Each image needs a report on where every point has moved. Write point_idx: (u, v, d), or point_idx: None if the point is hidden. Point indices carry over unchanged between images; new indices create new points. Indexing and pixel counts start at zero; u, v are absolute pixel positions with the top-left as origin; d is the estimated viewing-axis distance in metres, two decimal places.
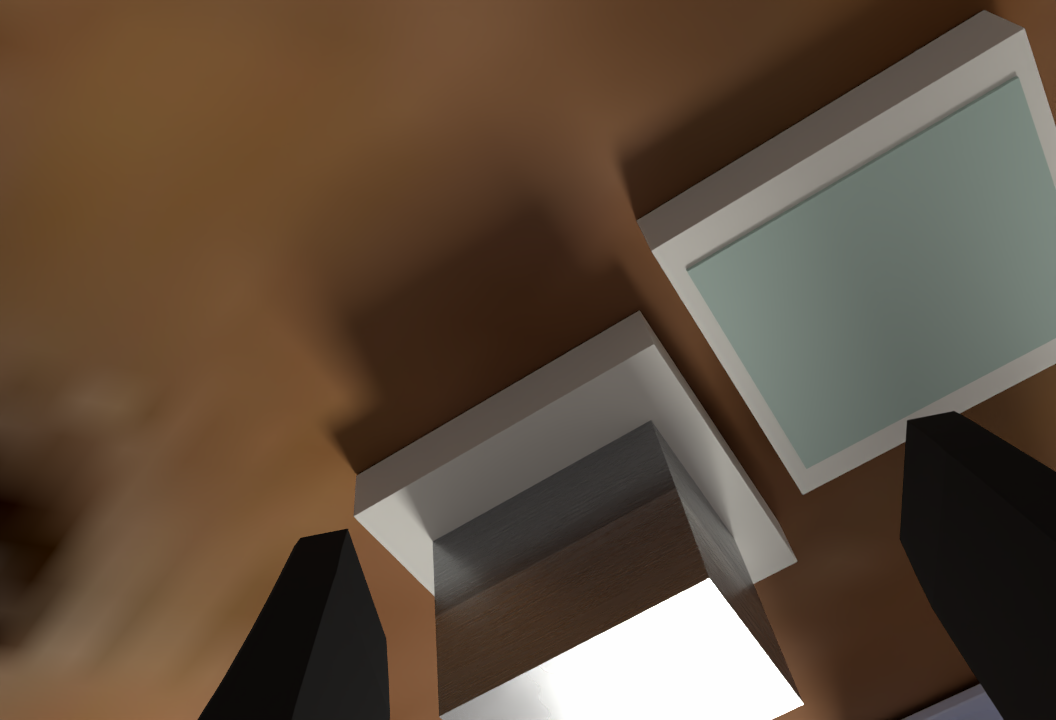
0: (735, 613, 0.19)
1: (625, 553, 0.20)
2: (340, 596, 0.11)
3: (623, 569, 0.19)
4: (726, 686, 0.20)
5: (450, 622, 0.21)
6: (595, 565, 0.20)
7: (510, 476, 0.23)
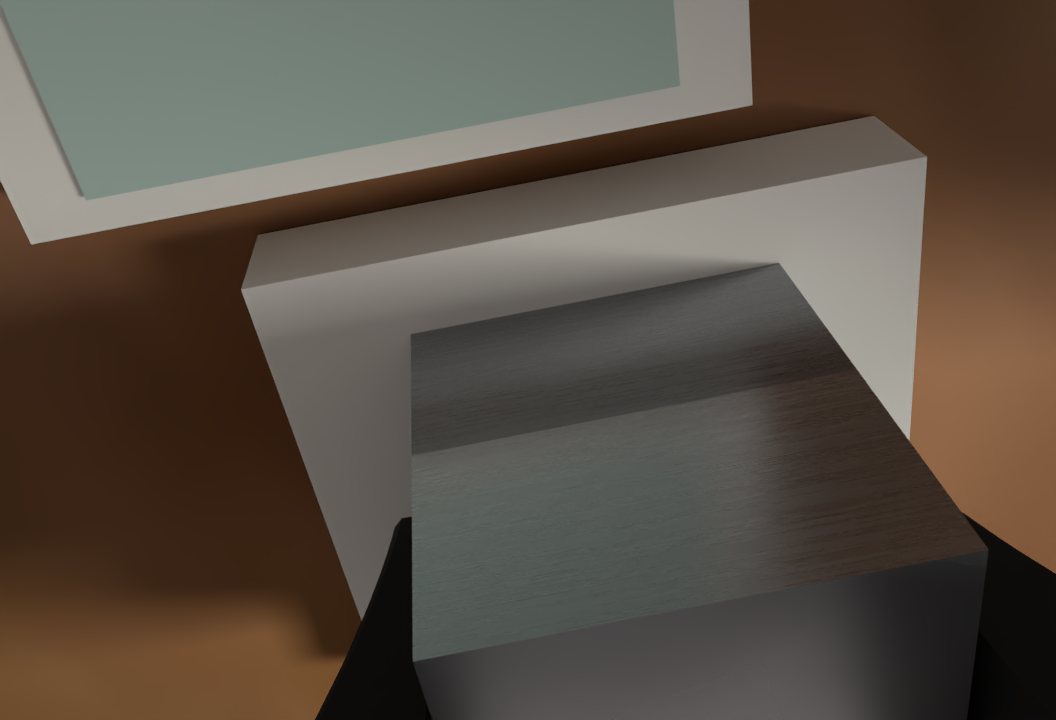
0: (562, 631, 0.08)
1: None
2: None
3: None
4: (790, 678, 0.08)
5: None
6: None
7: None
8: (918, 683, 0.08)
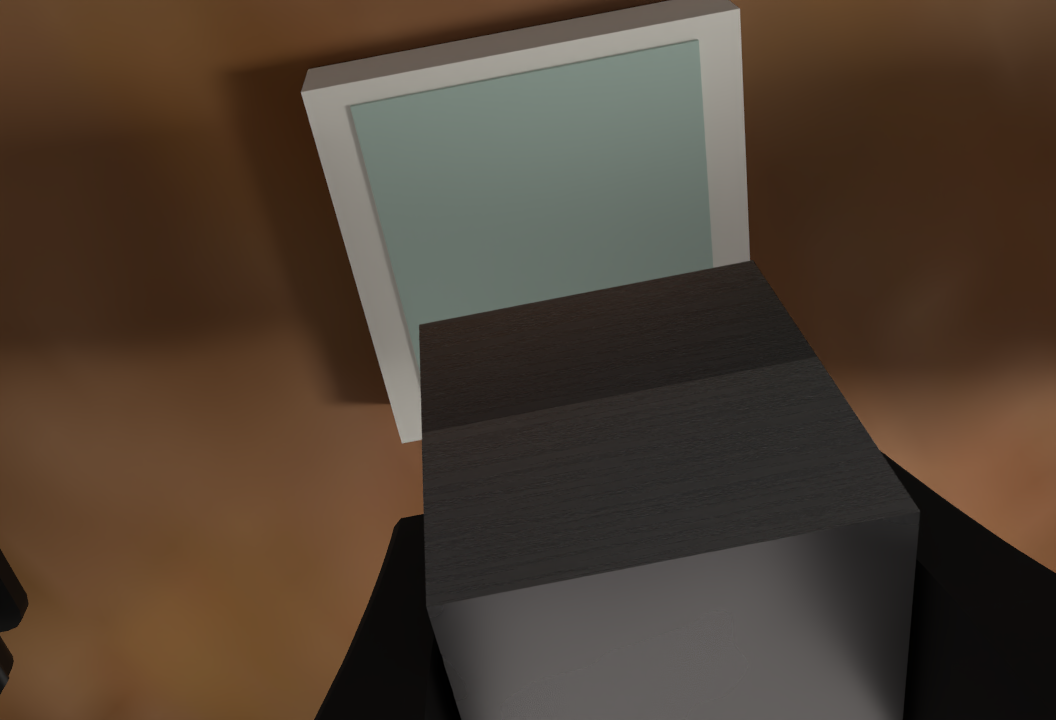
0: (554, 581, 0.09)
1: None
2: None
3: None
4: (752, 624, 0.09)
5: None
6: None
7: None
8: (863, 629, 0.10)
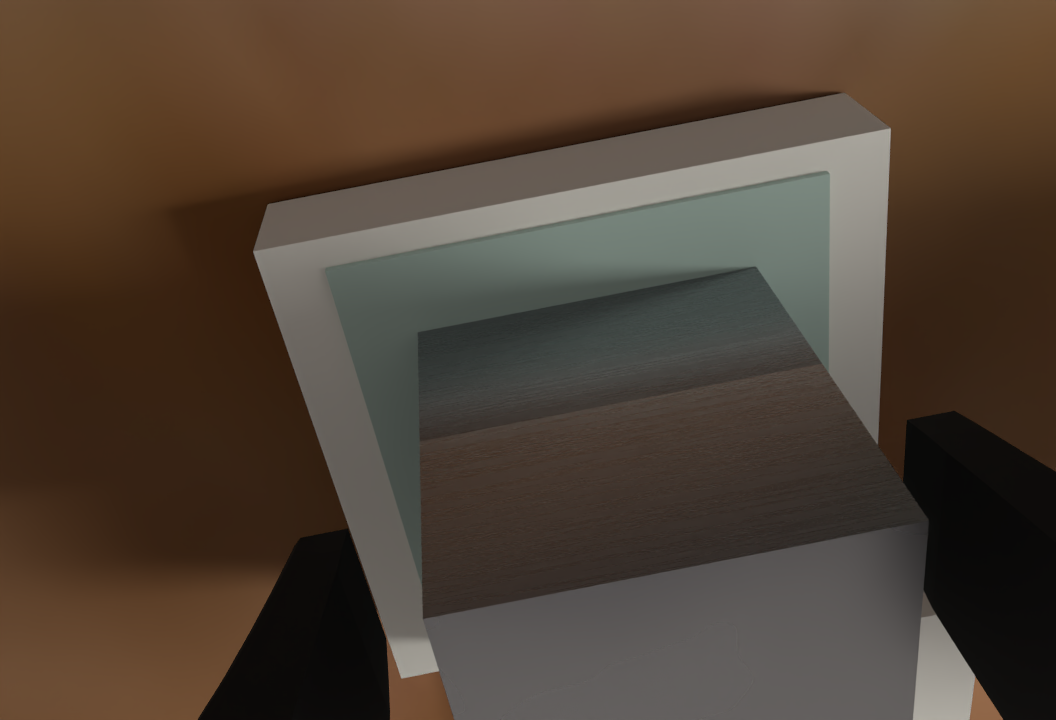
0: (553, 592, 0.09)
1: None
2: (340, 597, 0.11)
3: None
4: (756, 636, 0.09)
5: None
6: None
7: None
8: (871, 641, 0.09)
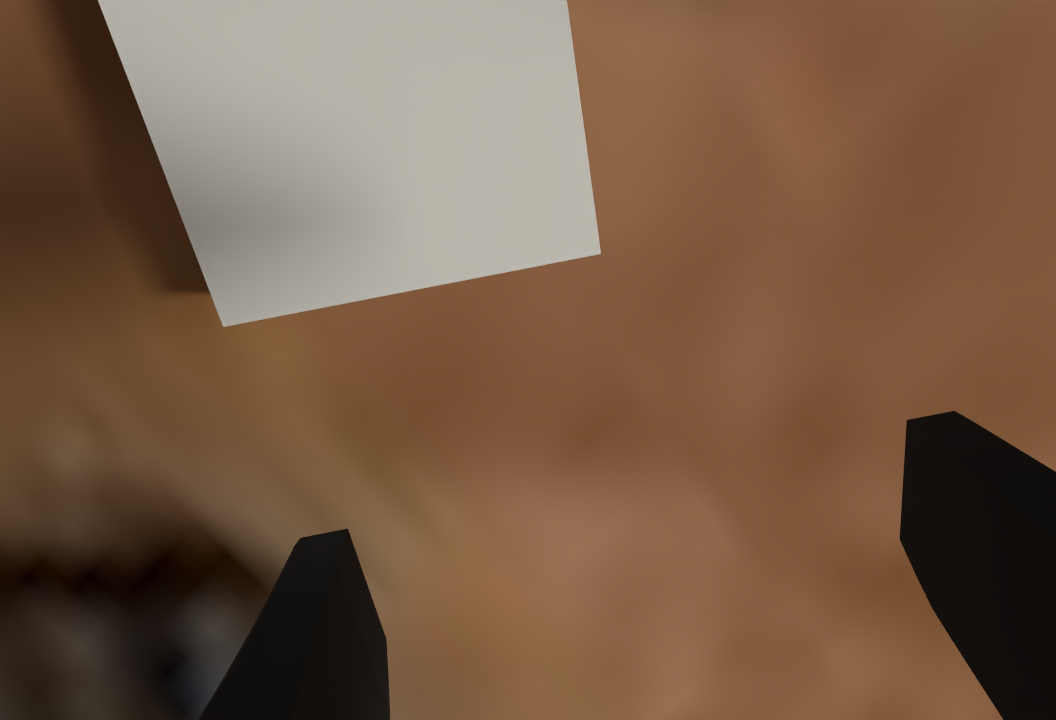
0: None
1: None
2: (340, 596, 0.11)
3: None
4: None
5: None
6: None
7: (225, 154, 0.18)
8: None
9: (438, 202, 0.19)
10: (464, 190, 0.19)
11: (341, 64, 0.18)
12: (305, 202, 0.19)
